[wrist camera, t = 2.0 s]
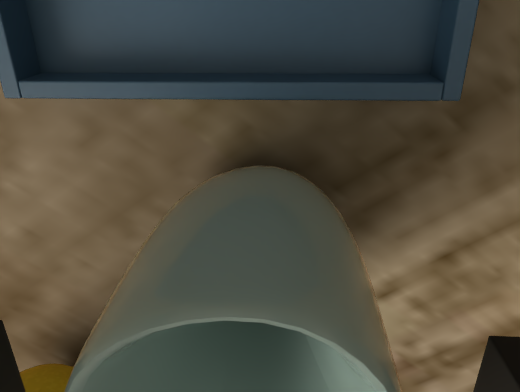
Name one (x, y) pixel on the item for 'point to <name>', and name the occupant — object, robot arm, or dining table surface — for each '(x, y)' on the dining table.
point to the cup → (243, 298)
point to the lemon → (46, 378)
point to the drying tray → (236, 49)
